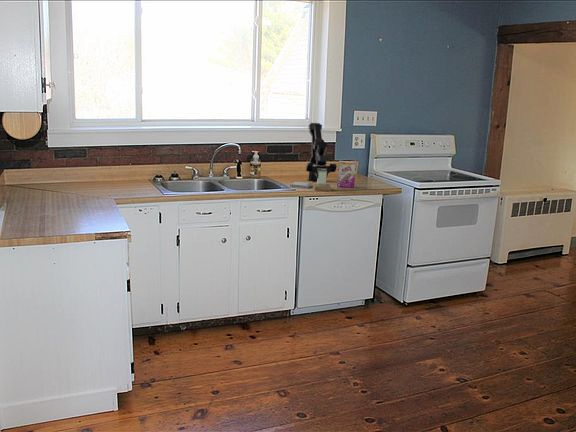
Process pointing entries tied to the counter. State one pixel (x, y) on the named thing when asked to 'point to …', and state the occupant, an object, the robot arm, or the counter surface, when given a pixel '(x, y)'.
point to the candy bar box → (346, 174)
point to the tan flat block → (321, 187)
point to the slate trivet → (302, 184)
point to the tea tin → (322, 177)
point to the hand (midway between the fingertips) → (322, 178)
